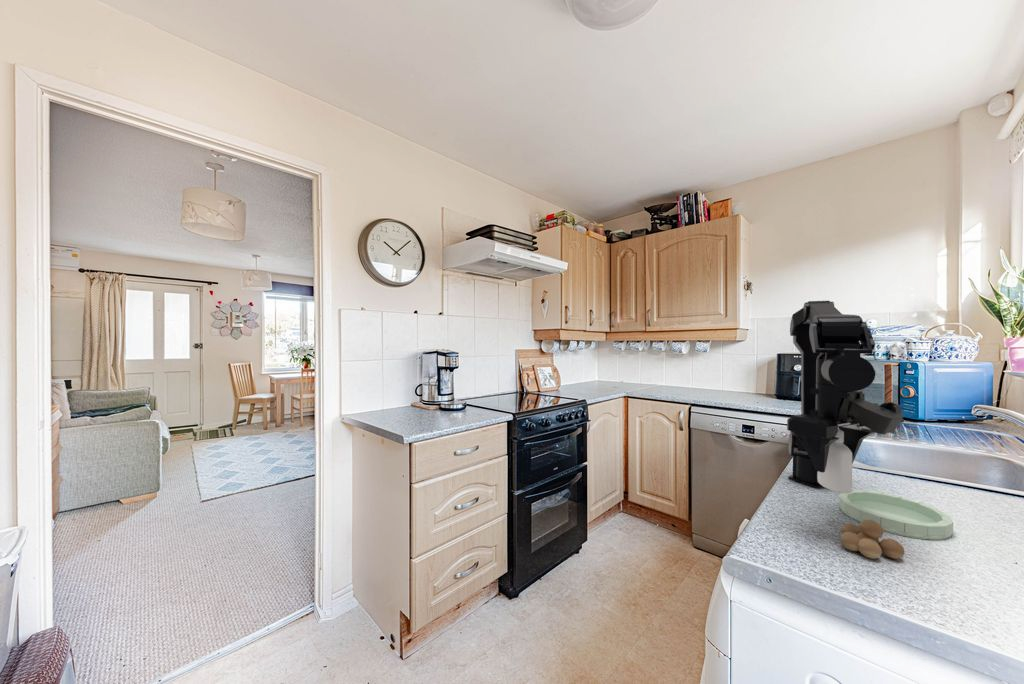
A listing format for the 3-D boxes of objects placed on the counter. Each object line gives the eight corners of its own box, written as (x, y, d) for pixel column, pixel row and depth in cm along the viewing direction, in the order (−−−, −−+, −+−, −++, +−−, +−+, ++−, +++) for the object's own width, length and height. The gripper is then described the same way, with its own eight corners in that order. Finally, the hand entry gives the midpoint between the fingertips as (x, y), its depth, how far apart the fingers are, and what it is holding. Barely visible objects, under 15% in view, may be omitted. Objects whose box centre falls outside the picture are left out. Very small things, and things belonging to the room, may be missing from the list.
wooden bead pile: (825, 542, 63) (826, 513, 63) (847, 535, 66) (847, 507, 65) (887, 569, 56) (888, 537, 56) (908, 560, 58) (909, 528, 58)
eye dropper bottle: (846, 485, 70) (847, 421, 70) (853, 496, 65) (854, 427, 65) (816, 480, 73) (817, 418, 72) (821, 490, 68) (822, 424, 68)
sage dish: (822, 508, 75) (823, 497, 75) (863, 496, 81) (864, 485, 81) (927, 547, 62) (928, 533, 62) (968, 529, 68) (968, 516, 68)
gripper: (862, 393, 58) (860, 493, 58) (922, 387, 65) (920, 476, 65) (785, 384, 68) (784, 470, 68) (844, 380, 75) (843, 457, 75)
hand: (834, 468), depth 69 cm, fingers closed on eye dropper bottle, 8 cm apart
